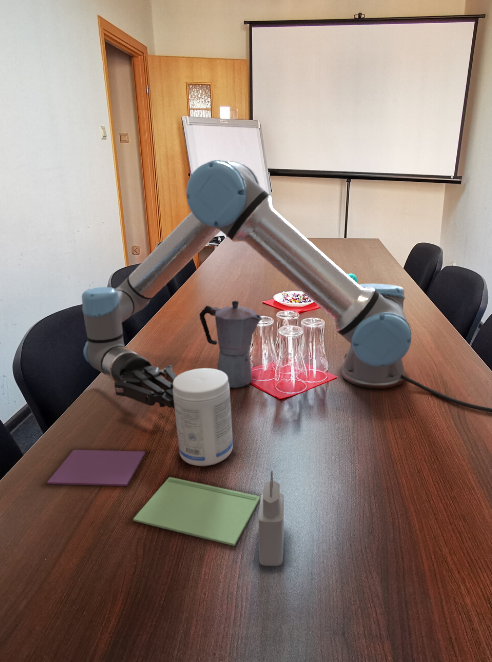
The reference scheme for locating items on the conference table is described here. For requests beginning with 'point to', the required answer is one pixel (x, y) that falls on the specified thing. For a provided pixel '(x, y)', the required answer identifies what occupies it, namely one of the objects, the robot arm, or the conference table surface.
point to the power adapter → (271, 524)
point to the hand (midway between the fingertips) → (188, 407)
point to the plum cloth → (98, 468)
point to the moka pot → (233, 340)
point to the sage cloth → (199, 510)
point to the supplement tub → (203, 416)
